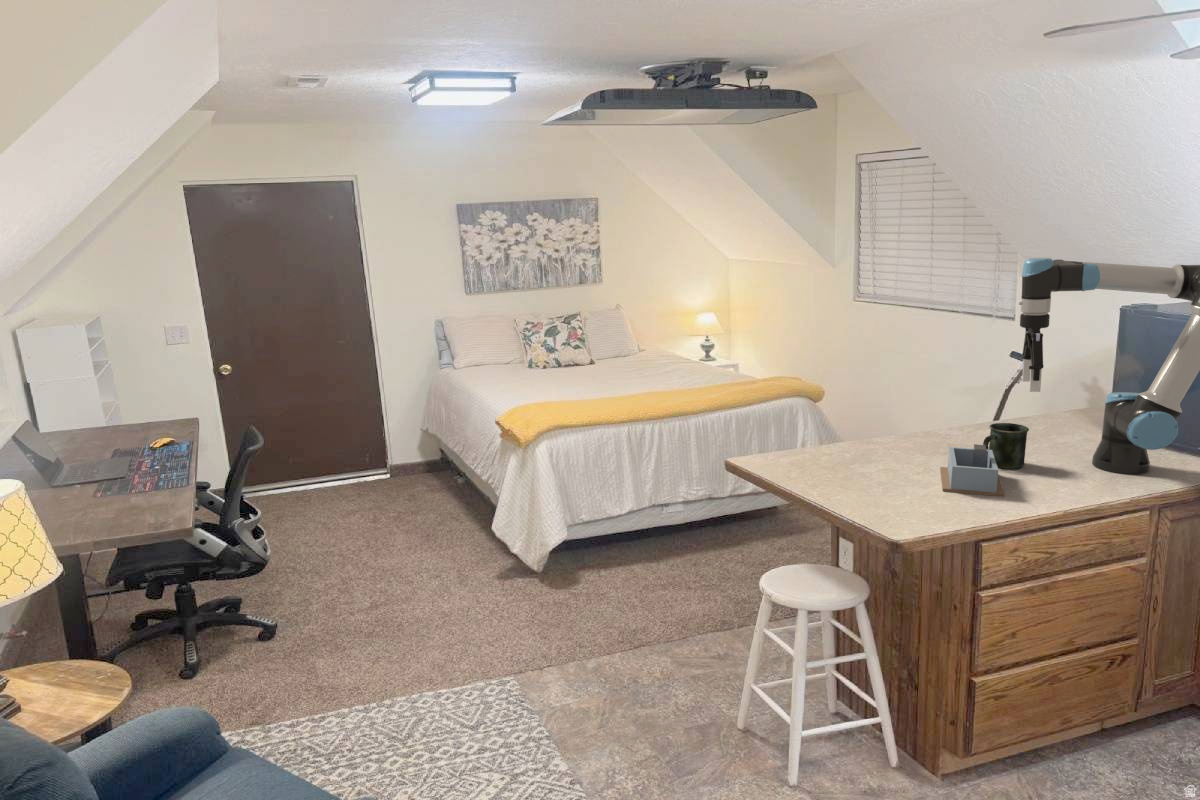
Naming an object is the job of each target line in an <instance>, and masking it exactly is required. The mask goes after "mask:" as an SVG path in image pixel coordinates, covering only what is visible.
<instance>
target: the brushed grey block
mask: <svg viewBox="0 0 1200 800" xmlns="http://www.w3.org/2000/svg"><path fill="white" fill-rule="evenodd" d="M973 449H974V450H973V461H972V467H981V468H985V462H986V446H985V445H983V444H973Z"/></svg>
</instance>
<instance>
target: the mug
mask: <svg viewBox="0 0 1200 800" xmlns="http://www.w3.org/2000/svg"><path fill="white" fill-rule="evenodd" d="M989 429H990V433H989V434H990V435H988V436H985V438H984V440H983V443H982V445H985V446H986V449H987V450H992V451H993V455H994V458H995V461H996V464H997V467H998V469H1006V470H1007V469H1008V470H1017V469H1020V468H1022V467H1024V465H1025V458H1026V447H1027V436H1028V433H1029V430H1030V428H1029V427H1028V426H1026V425H1022V424H1018V423H1010V422H996V423H992V424H990V425H989Z"/></svg>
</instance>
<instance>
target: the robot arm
mask: <svg viewBox="0 0 1200 800" xmlns="http://www.w3.org/2000/svg"><path fill="white" fill-rule="evenodd" d="M1021 273H1022V274H1021V276H1022V277H1021V278H1022V279H1021V297H1020V299H1021V301H1019V302H1018V305H1019V306H1020V312H1021V313H1020V316H1019V327H1020V328H1024V329H1025V334H1024V339H1023V347H1022V348H1023V349H1022V353H1021V355H1022V357H1023V361H1022V364H1023V365H1022V382H1023V383H1025V382H1027V383H1029V392H1033V393H1040V392H1041V387H1042V385H1041V384H1042V371H1043V370H1042V369H1044V366H1045V365H1044V348H1043V347H1044V345H1043V344H1044V343H1043V340H1044V339H1043V337H1044V334H1043V333H1042V332H1041V329H1047V328H1048V327H1049V326H1050V316H1051V314H1049V313H1050V312H1051V303H1052V298H1051V297H1052V292H1053V293H1055V292H1056V293H1057V292H1085V291H1086V292H1087V291H1095V290H1105V291H1108V290H1109V291H1121V292H1131V293H1132V292H1134V293H1147V294H1162V295H1167V296H1168V298H1171V299H1180V300H1185V301H1188V302H1189V301H1190V302H1191V304H1189V308H1190V310H1191V312H1192V313H1191V316H1190V317H1189V319H1188V320H1187V322H1186V324H1185V326H1184V328H1183V329H1182V331H1181V333H1180V335H1179V336H1178V338H1177V339H1176V341H1175V343H1174V345H1173V347H1172V348H1171V350H1170V351H1169V353H1168V355H1167V356H1166V359H1165V360H1164V362H1163V364H1162V366H1161V367H1160V369H1159V371H1158V372H1157V374H1156V376H1155V378H1154V379H1153V381H1152V383H1151V384H1150V385H1149V388H1148V389H1147V390H1146V391H1143V392H1131V391H1130V392H1129V391H1127V392H1124V391H1123V392H1122V391H1121V392H1120V391H1119V392H1117V391H1115V392H1110V393H1107V395H1106V399H1105V402H1104V413H1103V414H1104V416H1103V423H1102V432H1101V440H1100V442H1099V444H1098V445H1097V448H1096V450H1095V451H1094V453H1093V456H1092V460H1091V461H1092V462H1091V464H1092V465H1093V466H1094V467H1095V468H1098V469H1100V470H1104V471H1108V472H1112V473H1117V474H1126V475H1127V474H1128V475H1131V474H1132V475H1134V474H1135V475H1138V474H1139V475H1141V474H1145V473H1148V472H1149V471H1150V465H1151V463H1150V462H1151V461H1150V457H1149V453H1148V450H1150V451H1155V450H1160V449H1163V448H1165V447H1168V446H1169V445H1171V444H1172V443H1173V442H1174V440H1176V438H1177V437H1178V434H1179V426H1178V425H1179V424H1178V419H1179V417H1180V416H1181V414H1182V413H1183V409H1182V408H1181V402H1182V400H1183V399H1184V397H1185V396H1186V394H1187V392H1188V390H1189V389H1190V388H1191V386H1192V384H1193V382H1194V381H1195V379H1196V377H1197V375H1198V374H1199V373H1200V264H1175V265H1173V266H1171V267H1168V266H1167V267H1166V266H1165V267H1163V266H1151V265H1134V264H1123V263H1122V264H1121V263H1105V262H1093V261H1091V262H1090V261H1073V260H1064V259H1059V258H1058V259H1052V258H1051V257H1032V258H1031V257H1030V258H1027V259H1025V260H1024V262H1023V267H1022V271H1021Z"/></svg>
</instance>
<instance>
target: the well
mask: <svg viewBox="0 0 1200 800" xmlns="http://www.w3.org/2000/svg"><path fill="white" fill-rule="evenodd" d="M973 450H974V448H970V447H969V448H968V447H956V446H949V447H948V459H947V467H945V466H940V467H939V471H940V477H941V478H940V479H941V486H942V488H941V489H942V492H946V491H948V492H947V493H958V492H960V494H970V493H972V494H971V495H983V496H995V497H1005V491H1004V487H1003V484H1002V482H1001V481H1002V480H1001V479H1000V475H999V468H998V467H997V464H996V461H995V458H994V455H993V451H992V450H987V449H986V462H985V468H981V467H972V461H973Z"/></svg>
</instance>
